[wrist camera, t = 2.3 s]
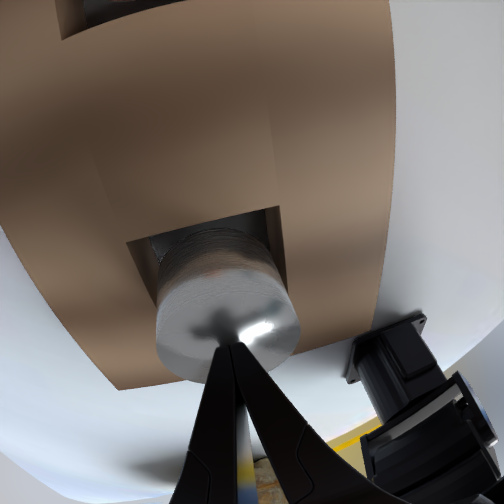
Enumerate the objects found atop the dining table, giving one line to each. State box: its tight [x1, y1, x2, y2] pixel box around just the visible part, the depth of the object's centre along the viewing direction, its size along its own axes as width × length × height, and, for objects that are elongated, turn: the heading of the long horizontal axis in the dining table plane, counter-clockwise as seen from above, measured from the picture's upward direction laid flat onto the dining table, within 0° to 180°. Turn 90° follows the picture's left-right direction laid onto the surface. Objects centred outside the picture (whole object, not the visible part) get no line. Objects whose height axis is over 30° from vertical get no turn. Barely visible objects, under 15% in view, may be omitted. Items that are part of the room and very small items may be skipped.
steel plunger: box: [156, 228, 301, 384], centre depth 10 cm, size 4×4×3 cm
